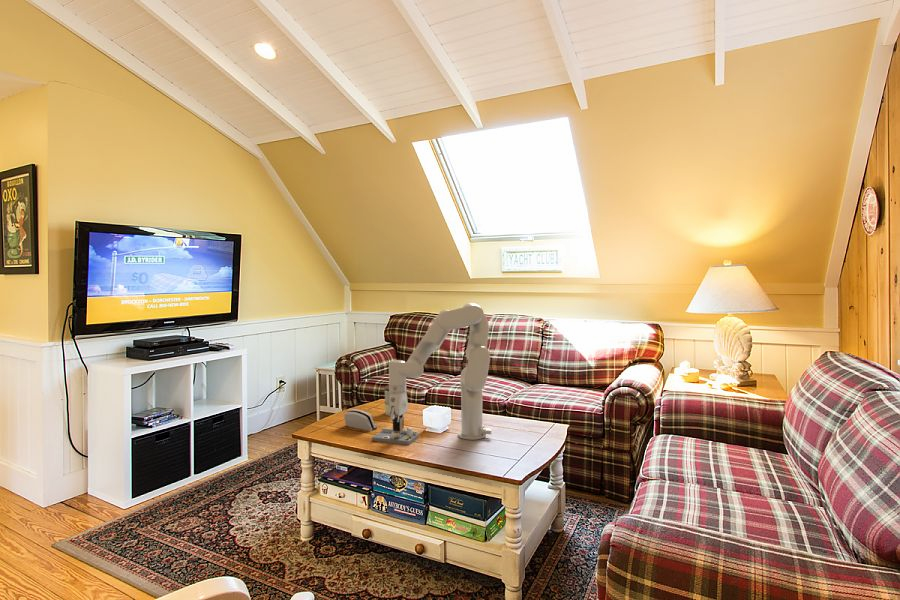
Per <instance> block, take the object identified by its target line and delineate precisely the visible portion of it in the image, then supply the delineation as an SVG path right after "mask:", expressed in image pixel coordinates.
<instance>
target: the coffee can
mask: <svg viewBox="0 0 900 600" xmlns="http://www.w3.org/2000/svg"><path fill="white" fill-rule="evenodd" d="M389 399H390V392H389V385H386V386H384V408H385V410H384V415H386V416H391V415H390V413H389ZM395 415H396V414H395Z"/></svg>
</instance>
